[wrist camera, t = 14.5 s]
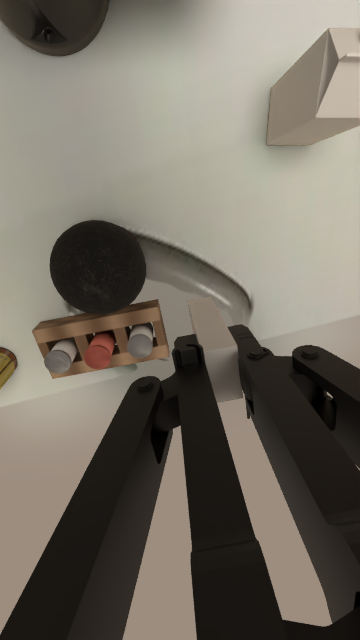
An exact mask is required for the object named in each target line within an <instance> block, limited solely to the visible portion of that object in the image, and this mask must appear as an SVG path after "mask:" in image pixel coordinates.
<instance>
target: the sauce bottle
mask: <svg viewBox="0 0 360 640" xmlns="http://www.w3.org/2000/svg"><path fill="white" fill-rule="evenodd" d="M16 366H17V362H16V359H15V356H14V355H13V354H12V353H11V352H10V351H8V350H6V349H3V348H0V389H1V388H2V386H3V385H4V384H5V383H6V381H7V380H8V379H9V378H10V376H11V375H12V374H13V372H14V370H15V368H16Z"/></svg>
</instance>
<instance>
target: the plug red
mask: <svg viewBox="0 0 360 640" xmlns="http://www.w3.org/2000/svg"><path fill="white" fill-rule="evenodd" d="M115 343H116V338H115V334H114V333H113V332H112V331H110V330H106V331H101V332H96V334H95V336H94V337H93V339H92V341H91V343H90V345H89V347H88V349H87V350H86V352H85V354H84V361H85V363H86V364H87V365H88V366H89V367H91V368H93V369H103V368H106V367H107V366H108V365H109V363H110V360H111V355H112V352H113V349H114V346H115Z"/></svg>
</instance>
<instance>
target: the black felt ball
mask: <svg viewBox="0 0 360 640" xmlns="http://www.w3.org/2000/svg"><path fill="white" fill-rule="evenodd" d="M50 273H51V278H52V281H53V284H54V286H55V287H56V289H57V291H58V293H59V294H60V295H61V296H62V297H63V299H64V300H66V301H67V302H68V303H69V304H70V305H72V306H73V307H75V308H77V309H79V310H81V311H84V312H86V313H91V314H109V313H113V312H116V311H119V310H122V309H123V308H125V307H127V306H128V305H130V304H131V303H132V302H133V301H134V300H135V299H136V297H137V296H138V294H139V293H140V291H141V289H142V287H143V285H144V282H145V277H146V263H145V258H144V255H143V252H142V250H141V247H140V245H139V243H138V242H137V240H136V238H135V237H134V236H133V235H132V234H131V233H130V232H129V231H127V230H126V229H124V228H122V227H120V226H117V225H115V224H113V223H109V222H105V221H98V220H90V221H84V222H81V223H78V224H76V225H74V226H72V227H71V228H69V229H68V230H66V231H65V232H64V233H63V234H62V235H61V236H60V237H59V238H58V239H57V241H56V243H55V245H54V247H53V250H52V253H51V257H50Z"/></svg>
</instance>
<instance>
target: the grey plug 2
mask: <svg viewBox="0 0 360 640" xmlns="http://www.w3.org/2000/svg"><path fill="white" fill-rule="evenodd" d="M152 340H153V327H152V325H151V323H150V322H148V323H142V324H137V325H133V326H132V329H131V334H130V338H129V341H128V344H127V350H128V352H129V353H130V354H131V355H132V356H133V357H136V358H145V357H147V356H148V355H150V353H151V352H152V349H153V343H152Z"/></svg>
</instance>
